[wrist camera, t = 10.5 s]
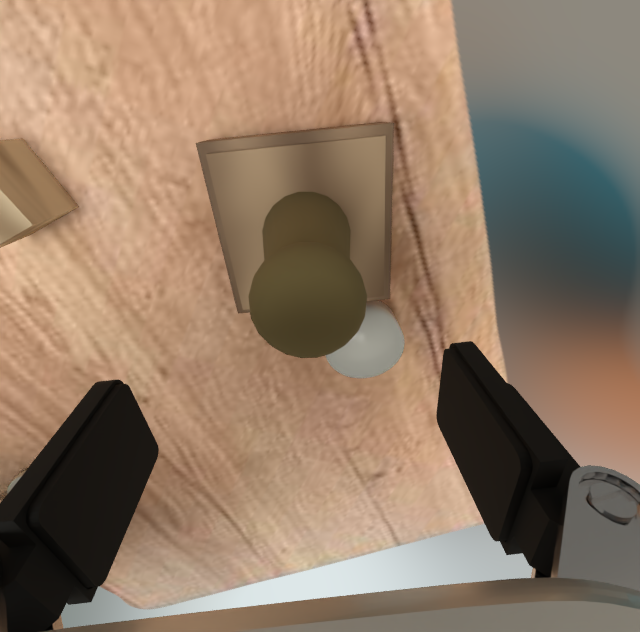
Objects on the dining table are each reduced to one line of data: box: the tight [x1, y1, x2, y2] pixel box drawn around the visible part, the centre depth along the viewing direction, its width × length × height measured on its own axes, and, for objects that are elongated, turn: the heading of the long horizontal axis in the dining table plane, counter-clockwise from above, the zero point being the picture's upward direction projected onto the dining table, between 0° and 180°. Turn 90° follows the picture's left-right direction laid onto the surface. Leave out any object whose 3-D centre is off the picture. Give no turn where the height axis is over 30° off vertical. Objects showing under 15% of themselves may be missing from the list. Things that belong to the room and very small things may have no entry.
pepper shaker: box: [248, 192, 367, 358], centre depth 18 cm, size 6×6×11 cm
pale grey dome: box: [326, 300, 404, 378], centre depth 31 cm, size 7×7×3 cm
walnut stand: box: [196, 122, 394, 313], centre depth 25 cm, size 12×12×4 cm
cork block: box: [0, 139, 79, 248], centre depth 22 cm, size 5×5×5 cm
